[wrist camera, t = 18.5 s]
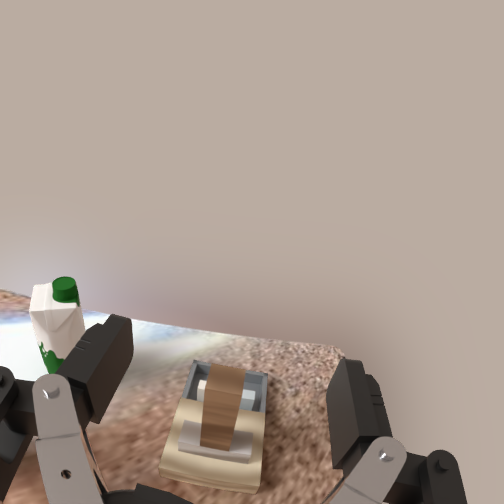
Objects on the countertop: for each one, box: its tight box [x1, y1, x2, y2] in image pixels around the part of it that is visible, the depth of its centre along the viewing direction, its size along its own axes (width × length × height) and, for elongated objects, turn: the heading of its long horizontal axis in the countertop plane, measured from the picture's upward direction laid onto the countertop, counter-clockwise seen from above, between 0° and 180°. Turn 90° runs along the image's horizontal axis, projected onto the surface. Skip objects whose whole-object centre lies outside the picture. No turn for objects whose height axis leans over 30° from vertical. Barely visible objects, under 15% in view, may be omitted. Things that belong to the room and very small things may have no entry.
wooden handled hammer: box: [178, 363, 253, 464], centre depth 36 cm, size 4×10×16 cm, turn 85°
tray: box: [182, 360, 268, 413], centre depth 53 cm, size 10×14×3 cm
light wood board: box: [159, 397, 265, 494], centre depth 42 cm, size 14×14×4 cm
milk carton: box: [29, 277, 86, 374], centre depth 45 cm, size 9×9×20 cm
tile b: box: [239, 389, 255, 411], centre depth 50 cm, size 4×4×2 cm
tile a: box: [197, 380, 207, 402], centre depth 51 cm, size 4×4×2 cm
